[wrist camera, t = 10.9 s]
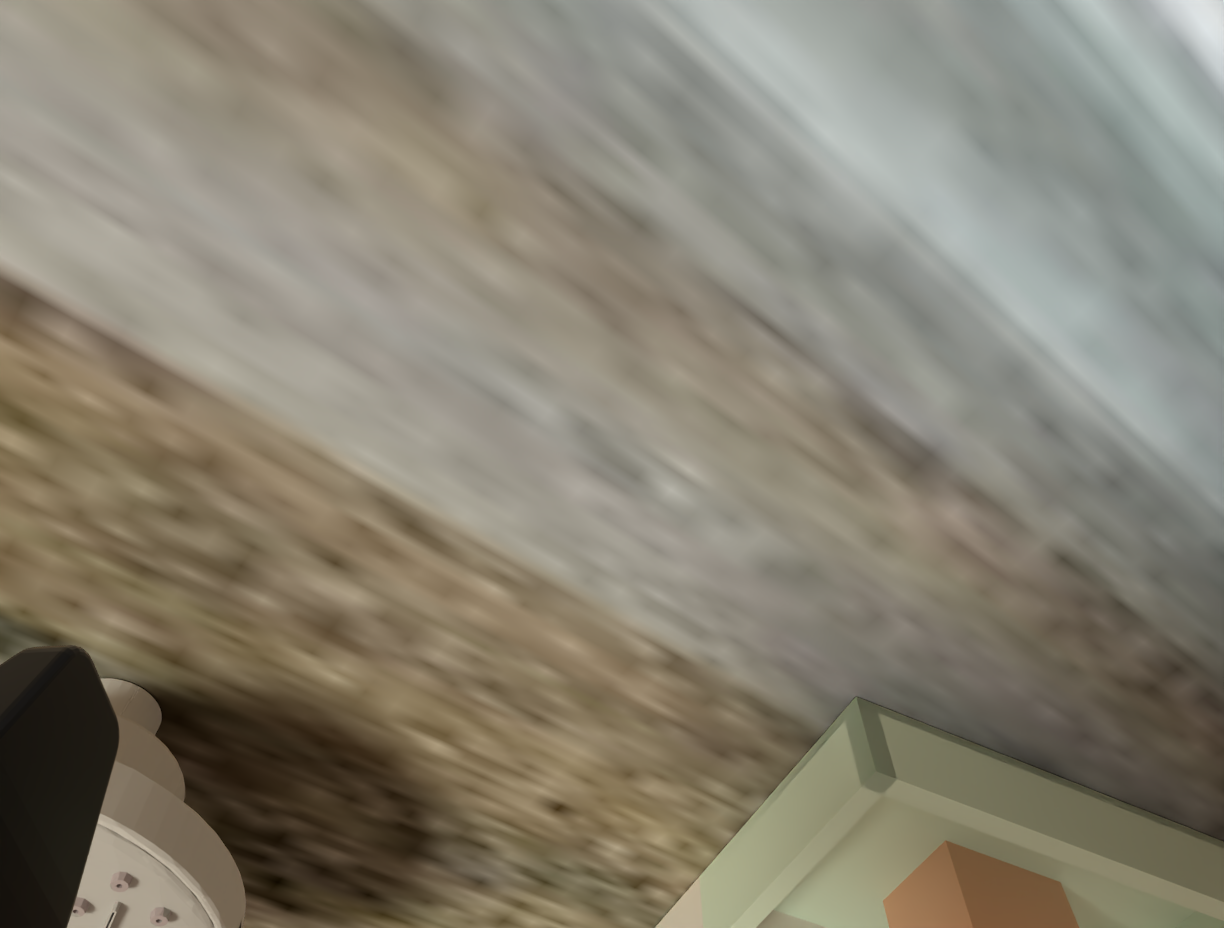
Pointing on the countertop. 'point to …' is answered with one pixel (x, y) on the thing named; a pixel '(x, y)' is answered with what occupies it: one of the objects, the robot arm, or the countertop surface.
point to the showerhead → (153, 839)
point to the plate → (687, 922)
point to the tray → (949, 834)
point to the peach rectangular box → (976, 894)
